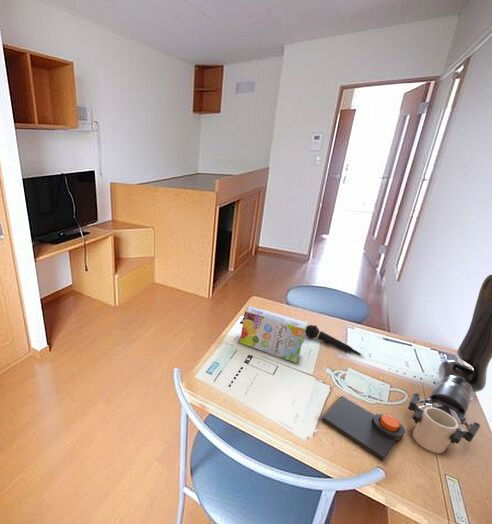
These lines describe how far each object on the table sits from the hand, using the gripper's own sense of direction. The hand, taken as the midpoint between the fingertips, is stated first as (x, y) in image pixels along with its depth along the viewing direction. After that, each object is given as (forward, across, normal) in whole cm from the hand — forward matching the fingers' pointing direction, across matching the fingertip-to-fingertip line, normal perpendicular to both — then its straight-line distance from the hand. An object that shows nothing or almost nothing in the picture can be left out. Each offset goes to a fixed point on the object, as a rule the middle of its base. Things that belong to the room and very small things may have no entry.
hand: (434, 430), depth 79 cm
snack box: (-2, -48, +6) cm, 48 cm away
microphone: (-24, -35, +6) cm, 43 cm away
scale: (+8, -13, +6) cm, 16 cm away
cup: (-2, 0, +6) cm, 6 cm away
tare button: (+4, -8, +3) cm, 9 cm away
